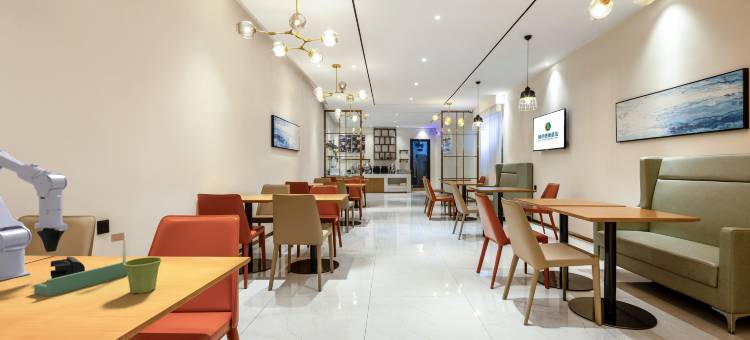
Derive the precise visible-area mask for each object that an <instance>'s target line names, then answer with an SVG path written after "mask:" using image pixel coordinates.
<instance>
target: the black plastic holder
mask: <svg viewBox="0 0 750 340" xmlns="http://www.w3.org/2000/svg"><path fill="white" fill-rule="evenodd" d="M50 267H51V268H53V267H54V270H53V269H52V270H50V277H51V278H50V279H53V278H57V277H62V276H66V275H70V274H74V273H79V272H83V271H86V267H85V265H84V264H83V263H82V262H81V261H80V260H78V259H77V258H75V257H73V256H66V258H63V259H57V260H56V259H55V260H51V261H50Z"/></svg>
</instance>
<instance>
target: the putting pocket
mask: <svg viewBox="0 0 750 340" xmlns="http://www.w3.org/2000/svg"><path fill="white" fill-rule="evenodd" d="M126 234H127V233H126V231H123V232H119V233H112V234H110V235H111V236H110V239H111V240H110V241H111V243H114V242H120V241H122V262H118V263H113V264H109V265H106V266H105V265H104V266H101V267H96V268H93V269H92V268H91V269H88V270H85V271H83V272H79V273H74V274H70V275H66V276H62V277H57V278H53V279H51V278H49V279H46V284H44V283H36V284H34V285H33V286H34V294H35V295H40V296H45V297H54V296H57V295H61V294H64V293H68V292H72V291H75V290H79V289H82V288H86V287H89V286H94V285H97V284H100V283H105V282H108V281H113V280H115V279H118V278H119V279H120V278H124V277H126V276H127V277H128V275H127V270H126V268H125V266H124V265H123V263H124V262H126V261H127V257H126V256H127V254H126V253H127V247H126V244H127V242H126V241H127V240H126V238H127V235H126Z"/></svg>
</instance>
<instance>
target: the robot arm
mask: <svg viewBox="0 0 750 340" xmlns="http://www.w3.org/2000/svg"><path fill="white" fill-rule="evenodd" d="M3 168H4V169H7V170H9V171H11V172H14V173H16V176H17V177H18V178H19V179H20V180H23V181H24V182H27V183H28V184H31V185H32V186H33V188H34V189H35V192H36V196H37V198H38V222H35V223H34V229H35V230H36V229H37V230H38V229H39V231H37V232H36V233H37V235H38V236H39V237H40V239H41V241H42V244H43V247H44V251H45V252H46V253H53V252H56V251H57V248H58V245H59V242H60V239H61V237H62V236H63V234H64V233H65V231H68V230H69V224H68V223H65V222H63V191H64V190H65V188H66V187H67V186H68V180H67V177H66V176H65V175H63V174H62V173H52V172H51V170H49V169H45V168H43V167H40V164H38V163H23V161H20V160H18V159H17V158H15V157H13V156H11V155H10V154H9V152H7V151H4V150H3V149H0V171H2V169H3ZM40 229H41V230H40ZM32 235H33V234H32V233H31V230H30V229H29V228H27V227H26V225H24V222H21V221H19V220H16V219H13V217H12V215H11V213H10V211H9V209H8V207H7V205H6V203H5V201H4V199H3V198H2V196H1V195H0V281H4V280H9V279H14V278H18V277H23V276H27V275H31V274H32V272H31V271H30V272H29V271H26V269H25V268H26V267H25V266H26V258H25V257H26V255H25V254H26V253H25V249H26V248H27V247H28V245H29V244H30V242H31V241H32Z"/></svg>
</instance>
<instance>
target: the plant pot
mask: <svg viewBox="0 0 750 340" xmlns="http://www.w3.org/2000/svg"><path fill="white" fill-rule="evenodd" d="M162 260H163V258H162V257H159V256H148V257H147V256H146V257H139V258H133V259H129V260H126V262H124V263H123V265H124V266H125V268H126V270H127V280H128V285H129V291H130V293H131V294H140V295H141V294H147V293H150V292H152V291H153V290H156V286H157V280H158V274H159V273H158V272H159V268H160V266H161V262H162Z"/></svg>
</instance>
